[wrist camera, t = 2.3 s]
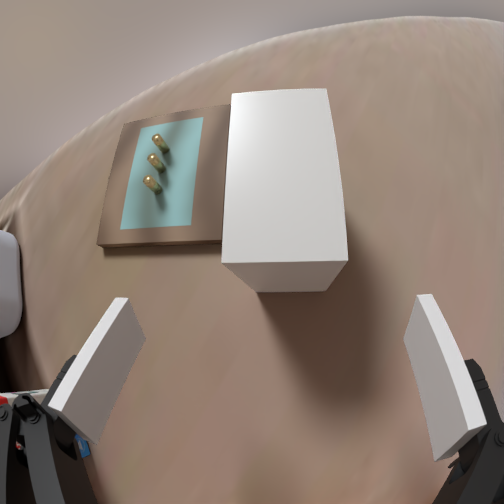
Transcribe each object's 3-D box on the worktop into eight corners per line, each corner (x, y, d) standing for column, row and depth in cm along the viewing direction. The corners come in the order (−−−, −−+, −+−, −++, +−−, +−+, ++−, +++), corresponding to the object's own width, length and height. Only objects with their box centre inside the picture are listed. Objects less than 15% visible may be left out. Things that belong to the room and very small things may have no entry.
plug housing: (319, 176, 27) (326, 88, 16) (325, 291, 25) (348, 260, 13) (257, 178, 28) (232, 93, 17) (256, 292, 26) (221, 262, 14)
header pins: (170, 145, 30) (161, 132, 27) (161, 194, 28) (151, 183, 26) (161, 146, 30) (152, 134, 28) (153, 195, 28) (142, 184, 26)
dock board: (232, 111, 31) (230, 104, 30) (224, 243, 27) (221, 239, 26) (128, 129, 33) (123, 123, 32) (102, 247, 29) (96, 244, 28)
